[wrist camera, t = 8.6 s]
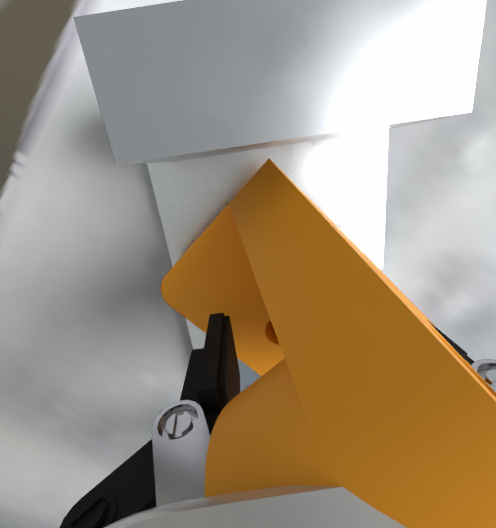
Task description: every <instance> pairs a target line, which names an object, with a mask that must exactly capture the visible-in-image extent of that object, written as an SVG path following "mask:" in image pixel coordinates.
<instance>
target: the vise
mask: <svg viewBox="0 0 496 528" xmlns="http://www.w3.org/2000/svg"><path fill="white" fill-rule="evenodd" d="M485 7H486V0H183V1H177V2H170V3H164V4H157V5H150V6H144V7H137V8H131V9H124V10H118V11H111V12H104V13H98V14H91V15H85V16H78V17H73V18H74V21H75V25H76V28H77V32H78V35H79V38H80V42H81V45H82V49H83V52H84V56H85V59H86V63H87V66H88V70H89V73H90V77H91V80H92V84H93V87H94V91H95V94H96V98H97V101H98V105H99V108H100V111H101V115H102V118H103V122H104V125H105V129H106V132H107V136H108V139H109V143H110V146H111V150H112V153H113V157H114V160H115V164H138V163H147V167H148V171H149V175H150V179H151V183H152V187H153V191H154V195H155V199H156V203H157V207H158V211H159V215H160V219H161V223H162V227H163V231H164V235H165V239H166V243H167V247H168V251H169V255H170V259H171V263H172V267H173V266H174V264H175V263H176V262H177V261H178V259H179V258H180V257H181V256H182V255H183V254H184V253H185V252H186V251H187V249H188V248H189V247H190V246H191V245H192V244H193V243H194V242H195V240H196V239H197V238H198V237H199V236H200V235H201V234H202V233H203V231H204V230H205V229H206V228H207V227H208V226H209V225H210V224H211V223H212V221H213V220H214V219H215V218H216V217H217V216H218V215H219V214H220V212H221V211H222V210H223V209H224V208H225V207H226V206H227V205H228V203H229V202H230V201H231V200H232V199H233V198H234V197H235V196H236V194H237V193H238V192H239V191H240V190H241V189H242V188H243V187H244V186H245V184H246V183H247V182H248V181H249V180H250V179H251V178H252V177H253V175H254V174H255V173H256V172H257V171H258V170H259V169H260V168H261V166H262V165H263V164H264V163H265V162H266V161H267V160H268V159H269V158H270V159H271V160H272V161H273V162H274V163H275V164H276V165H277V166H278V167H279V168H280V169H281V170H282V171H283V172H284V173H285V175H286V176H287V177H288V178H289V179H290V180H291V181H292V182H293V183H294V184H295V185H296V186H297V187H298V188H299V189H300V190H301V191H302V192H303V193H304V194H305V195H306V196H307V197H308V198H309V199H310V200H311V201H312V202H313V203H314V204H315V205H316V206H317V207H318V208H319V209H320V210H321V211H322V212H323V213H324V214H325V215H326V216H327V217H328V218H329V219H330V220H331V221H332V222H333V223H334V224H335V225H336V226H337V227H338V228H339V229H340V230H341V231H342V232H343V233H344V234H345V235H346V236H347V237H348V238H349V239H350V240H351V241H352V242H353V243H354V244H355V245H356V246H357V247H358V248H359V249H360V250H361V251H362V252H363V253H364V254H365V255H366V256H367V257H368V258H369V259H370V260H371V261H372V262H373V263H374V264H375V265H376V266H377V267H378V268H379V269H380V270H381V271H382V272H383V261H384V235H385V208H386V182H387V156H388V129H390V128H395V127H400V126H405V125H410V124H415V123H420V122H425V121H430V120H435V119H440V118H445V117H450V116H455V115H460V114H465V113H470V112H472V106H473V99H474V91H475V84H476V76H477V68H478V61H479V53H480V45H481V38H482V30H483V23H484V15H485ZM185 319H186V318H185ZM186 323H187V327H188V331H189V335H190V339H191V343H192V347H193V350H194V349H201V348H204V344H205V338H206V333H204V332H203V331H202V330H201V329H199V328H198V327H197V326H195V325H194V324H193V323H191V322H190V321H189V320H188V319H186ZM237 359H238V358H237ZM238 365H239V371H240V392H242V391H243V390H244V389H246V388H247V387H248V386H249V385H251V384H252V383H253V382H255V381H256V380H257V379H258V378H260V377H261V376H260V375H259V374H258V373H256V372H255V371H254V370H253V369H251V368H250V367H249V366H247V365H246V364H245V363H243V362H242V361H241V360H240V359H238Z"/></svg>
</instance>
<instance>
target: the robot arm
mask: <svg viewBox="0 0 496 528" xmlns="http://www.w3.org/2000/svg"><path fill="white" fill-rule="evenodd" d="M426 320H427V319H426ZM427 321H428V320H427ZM428 322H429V321H428ZM429 323H430V322H429ZM430 324H431V323H430ZM431 325H432V326H433V327H434V328H435V329H436V330H437V331H438V332H439V333H440V334H441V335H442V336H443V338H444V339H445V340H446V341H447V342H448V343H449V344H450V345H451V346H452V347H453V348H454V349H455V350H456V351H457V352H458V353H459V354H460V355H461V356H462V357H463V358H464V359H465V360H466V361H467V362H468V363H469V364H470V365H471V367H472V368H473V369H474V370H475V371H476V372H477V373H478V374H479V375H480V376H481V377H482V378H483V379H484V380H485V381H486V383H487V384H488V385H489V386H490V387H491V388H492V389H493V390H494V391H495V392H496V360H492V359H482V360H478V361H475V362H474V361H473V360H472V359H471V358H469V357H468V356H467V353H466V352H465V351H464V350H462V349H461V348H460V347H459V346H458V345H457V344H455V343H454V342H453V341H452V340H451V339H449V338H448V337H447V336H446V335H445V334H443V333H442V332H441V331H440V330H439V329H437V328H436V327H435V326H434V325H433V324H431ZM239 393H240V371H239V365H238V359H237V354H236V349H235V343H234V338H233V332H232V327H231V321H230V317H229V315H227V316H225V315H224V313H216V314H210V316H209V321H208V327H207V332H206V338H205V344H204V348H201V349H194V350H192V352H191V356H190V360H189V365H188V369H187V373H186V377H185V381H184V386H183V390H182V394H181V398H180V401H177V402H174V403H172V404H170V405H168V406H167V407H166V408H164V409H163V410H162V411H161V412H160V413H159V414H158V416H157V417H156V418H155V420H154V423H153V425H152V439H151V440H150V441H149V442H148V443H147V444H145V445H144V446H143V447H142V448H141V449H140V450H138V451H137V452H136V453H135V454H134V455H132V456H131V457H130V458H129V459H128V460H126V461H125V462H124V463H123V464H122V465H120V466H119V467H118V468H117V469H116V470H114V471H113V472H112V473H111V474H110V475H109V476H107V477H106V478H105V479H104V480H103V481H101V482H100V483H99V484H98V485H97V486H95V487H94V488H93V489H92V490H91V491H89V492H88V493H87V494H86V495H85V496H84V497H82V498H81V499H80V500H79V501H78V502H77V503H76V504H75V505H74V506H73V507H72V508H71V510H70V511H69V512H68V514H67V515H66V517H65V518H64V520H63V522H62V524H61V526H60V528H407V527H405V526H404V525H402V524H400V523H398V522H397V521H395V520H393V519H392V518H390V517H388V516H386V515H385V514H383V513H381V512H379V511H378V510H376V509H374V508H373V507H372V506H370V505H369V504H367V503H366V502H364V501H363V500H361V499H360V498H358V497H357V496H355V495H354V494H353V493H351V492H350V491H348V490H347V489H345V488H344V487H338V486H313V485H286V486H278V487H271V488H264V489H256V490H249V491H242V492H236V493H230V494H223V495H217V496H211V497H205V466H206V457H207V451H208V446H209V440H210V437H211V434H212V430H213V427H214V425H215V423H216V420H217V418H218V416H219V415H220V413H221V411H222V409H223V408H224V407H225V406H226V405H227V403H228V402H229V401H231V400H232V399H233V398H234V397H235V396H237V395H238V394H239Z"/></svg>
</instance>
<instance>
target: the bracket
mask: <svg viewBox="0 0 496 528" xmlns="http://www.w3.org/2000/svg"><path fill="white" fill-rule="evenodd" d="M161 293H162V296H163V298H164V300H165V301H166V303H167V304H168V305H169V306H171V307H172V308H173V309H175V310H176V311H177V312H178V313H180V314H181V315H182V316H184V317H185V318H186V319H188V320H189V321H190V322H191V323H193V324H194V325H195V326H197V327H198V328H199V329H201V330H202V331H203V332H204V333H206V332H207V327H208V321H209V316H210V314H216V313H224V315H225V316H227V315H229V317H230V321H231V327H232V332H233V338H234V343H235V349H236V354H237V358H238V359H240V360H241V361H242V362H243V363H245V364H246V365H247V366H249V367H250V368H251V369H253V370H254V371H255V372H256V373H258V374H259V375H260V376H261V377H260V378H258V379H257V380H256V381H255V382H253V383H252V384H251V385H249V386H248V387H247V388H246V389H244V390H243V391H242V392H240V393H239V394H238V395H237V396H235V397H234V398H233V399H232V400H231V401H229V402H228V403H227V405H226V406H225V407H224V408H223V409H222V411H221V413H220V415H219V416H218V418H217V420H216V423H215V425H214V427H213V430H212V434H211V437H210V440H209V446H208V451H207V457H206V466H205V497H211V496H217V495H223V494H230V493H236V492H242V491H249V490H256V489H264V488H271V487H278V486H286V485H313V486H338V487H344V488H345V489H347V490H348V491H350V492H351V493H353V494H354V495H355V496H357V497H358V498H360V499H361V500H363V501H364V502H366V503H367V504H369V505H370V506H372V507H373V508H374V509H376V510H378V511H379V512H381V513H383V514H385V515H386V516H388V517H390V518H392V519H393V520H395V521H397V522H398V523H400V524H402V525H404V526H405V527H407V528H496V392H495V391H494V390H493V389H492V388H491V387H490V386H489V385H488V384H487V383H486V381H485V380H484V379H483V378H482V377H481V376H480V375H479V374H478V373H477V372H476V371H475V370H474V369H473V368H472V367H471V365H470V364H469V363H468V362H467V361H466V360H465V359H464V358H463V357H462V356H461V355H460V354H459V353H458V352H457V351H456V350H455V349H454V348H453V347H452V346H451V345H450V344H449V343H448V342H447V341H446V340H445V339H444V338H443V336H442V335H441V334H440V333H439V332H438V331H437V330H436V329H435V328H434V327H433V326H432V325H431V324H433V323H432V322H431V321H430V320H429V319H428V318H427V317H426V316H425V315H424V314H423V313H422V312H421V311H420V310H419V309H418V308H417V307H416V306H415V305H414V304H413V303H412V302H411V301H410V300H409V299H408V298H407V297H406V296H405V295H404V294H403V293H402V292H401V291H400V290H399V289H398V288H397V287H396V286H395V285H394V284H393V283H392V282H391V281H390V280H389V279H388V278H387V276H386V275H385V274H384V273H383V272H382V271H381V270H380V269H379V268H378V267H377V266H376V265H375V264H374V263H373V262H372V261H371V260H370V259H369V258H368V257H367V256H366V255H365V254H364V253H363V252H362V251H361V250H360V249H359V248H358V247H357V246H356V245H355V244H354V243H353V242H352V241H351V240H350V239H349V238H348V237H347V236H346V235H345V234H344V233H343V232H342V231H341V230H340V229H339V228H338V227H337V226H336V225H335V224H334V223H333V222H332V221H331V220H330V219H329V218H328V217H327V216H326V215H325V214H324V213H323V212H322V211H321V210H320V209H319V208H318V207H317V206H316V205H315V204H314V203H313V202H312V201H311V200H310V199H309V198H308V197H307V196H306V195H305V194H304V193H303V192H302V191H301V190H300V189H299V188H298V187H297V186H296V185H295V184H294V183H293V182H292V181H291V180H290V179H289V178H288V177H287V176H286V175H285V173H284V172H283V171H282V170H281V169H280V168H279V167H278V166H277V165H276V164H275V163H274V162H273V161H272V160H271V159H270V158H269V159H268V160H267V161H266V162H265V163H264V164H263V165H262V166H261V168H260V169H259V170H258V171H257V172H256V173H255V174H254V175H253V177H252V178H251V179H250V180H249V181H248V182H247V183H246V184H245V186H244V187H243V188H242V189H241V190H240V191H239V192H238V193H237V194H236V196H235V197H234V198H233V199H232V200H231V201H230V202H229V203H228V205H227V206H226V207H225V208H224V209H223V210H222V211H221V212H220V214H219V215H218V216H217V217H216V218H215V219H214V220H213V221H212V223H211V224H210V225H209V226H208V227H207V228H206V229H205V230H204V231H203V233H202V234H201V235H200V236H199V237H198V238H197V239H196V240H195V242H194V243H193V244H192V245H191V246H190V247H189V248H188V249H187V251H186V252H185V253H184V254H183V255H182V256H181V257H180V258H179V259H178V261H177V262H176V263H175V264H174V266H173V267H172V268H171V270H170V271H169V272H168V273H167V275H166V276H165V277H164V279H163V280H162V283H161ZM426 319H427V320H428V321H429V322H430V323H431V324H430V323H429V322H428V321H427V320H426ZM433 325H434V324H433Z"/></svg>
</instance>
